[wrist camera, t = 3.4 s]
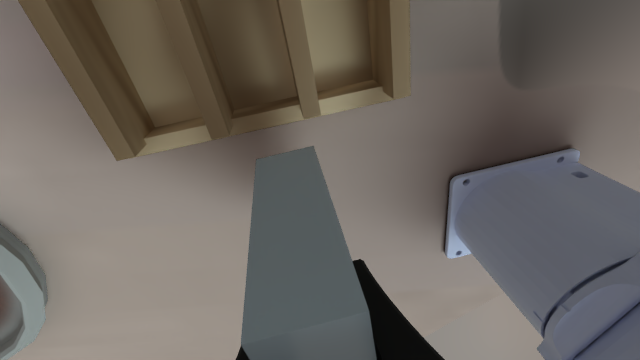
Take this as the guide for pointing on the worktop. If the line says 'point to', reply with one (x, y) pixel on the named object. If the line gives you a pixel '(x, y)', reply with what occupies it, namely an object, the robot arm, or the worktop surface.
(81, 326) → the worktop surface
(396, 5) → the rack
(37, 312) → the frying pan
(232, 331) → the worktop surface
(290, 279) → the upright pale blue slab
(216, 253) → the worktop surface
